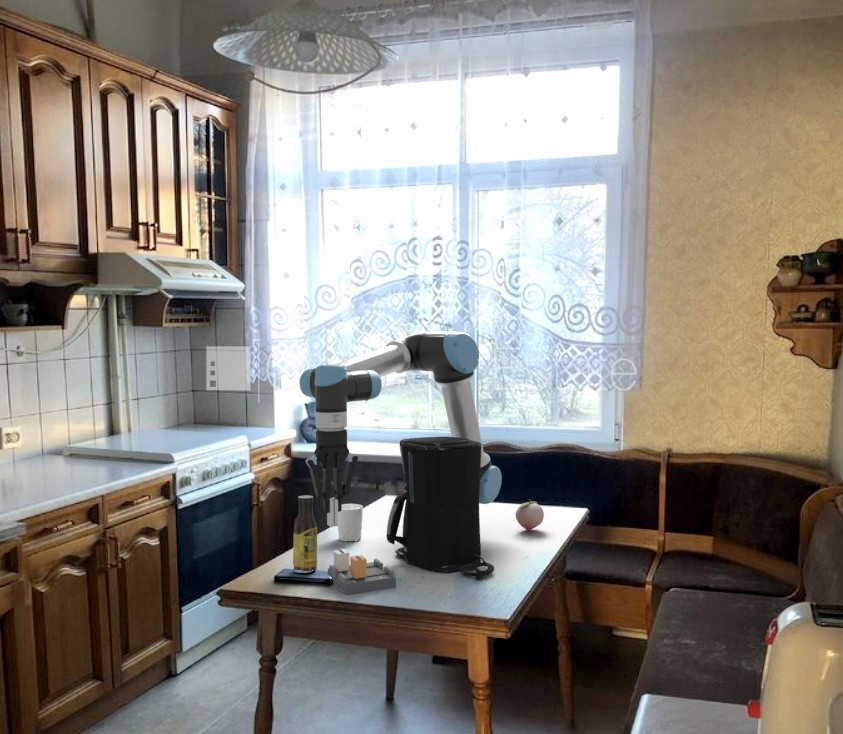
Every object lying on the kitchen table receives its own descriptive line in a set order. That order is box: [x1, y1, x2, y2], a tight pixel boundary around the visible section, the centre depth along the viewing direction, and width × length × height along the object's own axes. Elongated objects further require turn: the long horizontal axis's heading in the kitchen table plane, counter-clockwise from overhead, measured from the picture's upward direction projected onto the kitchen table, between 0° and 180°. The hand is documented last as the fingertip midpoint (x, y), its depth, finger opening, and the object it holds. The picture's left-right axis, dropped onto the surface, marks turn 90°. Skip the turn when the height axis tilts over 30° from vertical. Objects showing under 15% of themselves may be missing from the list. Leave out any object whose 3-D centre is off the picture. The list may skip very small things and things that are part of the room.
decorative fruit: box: [515, 498, 545, 532], centre depth 249 cm, size 9×8×10 cm
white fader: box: [332, 548, 350, 572], centre depth 202 cm, size 4×3×5 cm
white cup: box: [337, 503, 364, 542], centre depth 241 cm, size 8×8×10 cm
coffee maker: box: [385, 436, 495, 581], centre depth 218 cm, size 23×32×34 cm
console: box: [327, 558, 397, 596], centre depth 201 cm, size 14×13×4 cm
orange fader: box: [349, 554, 368, 579], centre depth 197 cm, size 4×3×5 cm
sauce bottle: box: [292, 494, 318, 571], centre depth 210 cm, size 7×6×20 cm
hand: (332, 525), depth 193 cm, fingers closed
